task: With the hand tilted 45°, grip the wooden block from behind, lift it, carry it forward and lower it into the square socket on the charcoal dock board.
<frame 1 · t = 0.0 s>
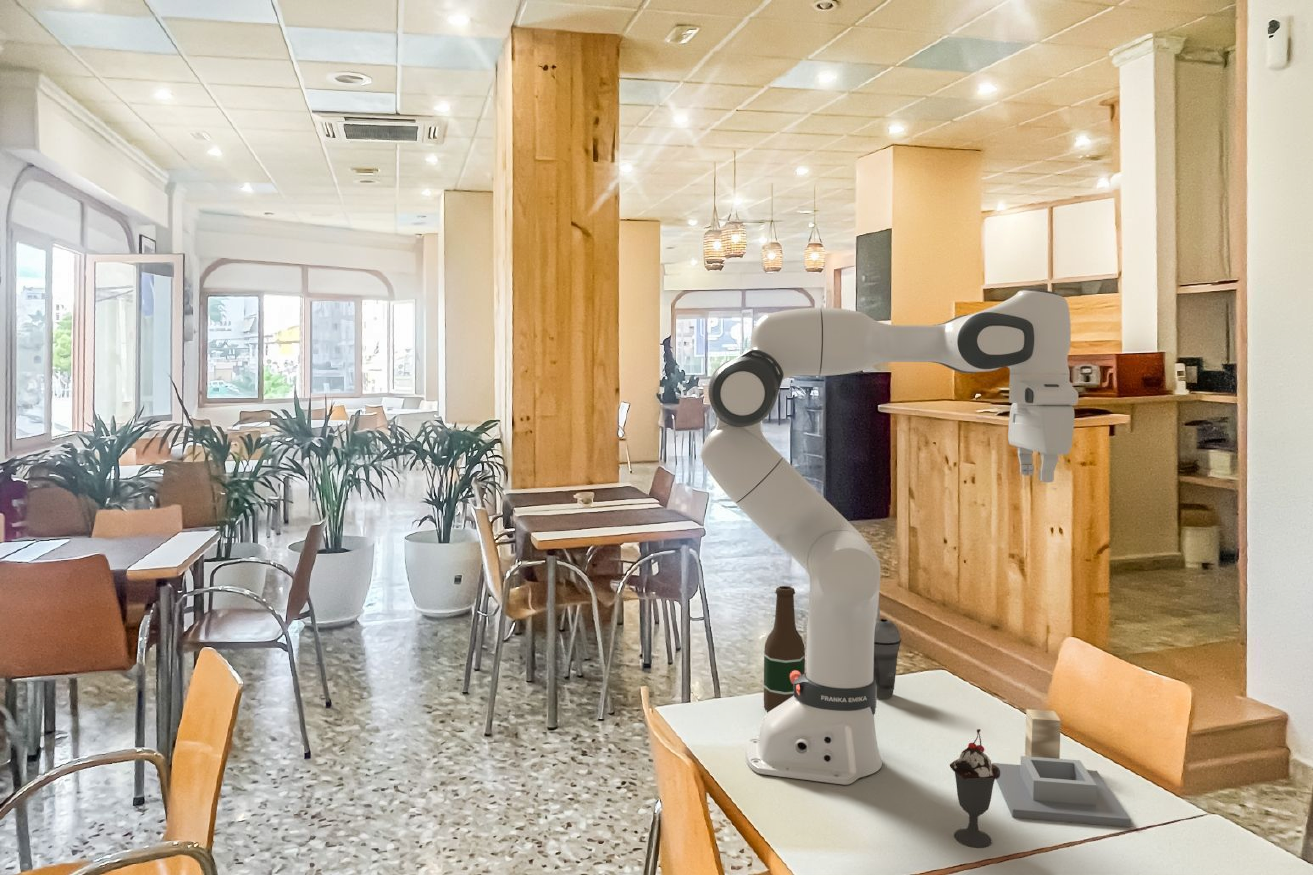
hand: (1036, 478, 144), 48 cm above the table, tool pointing down, fingers open, 8 cm apart
sundae: (972, 839, 125), on the table
wooden block: (1041, 761, 150), on the table
beer bottle: (783, 711, 173), on the table
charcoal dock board: (1056, 796, 138), on the table
beverage cup: (881, 696, 181), on the table
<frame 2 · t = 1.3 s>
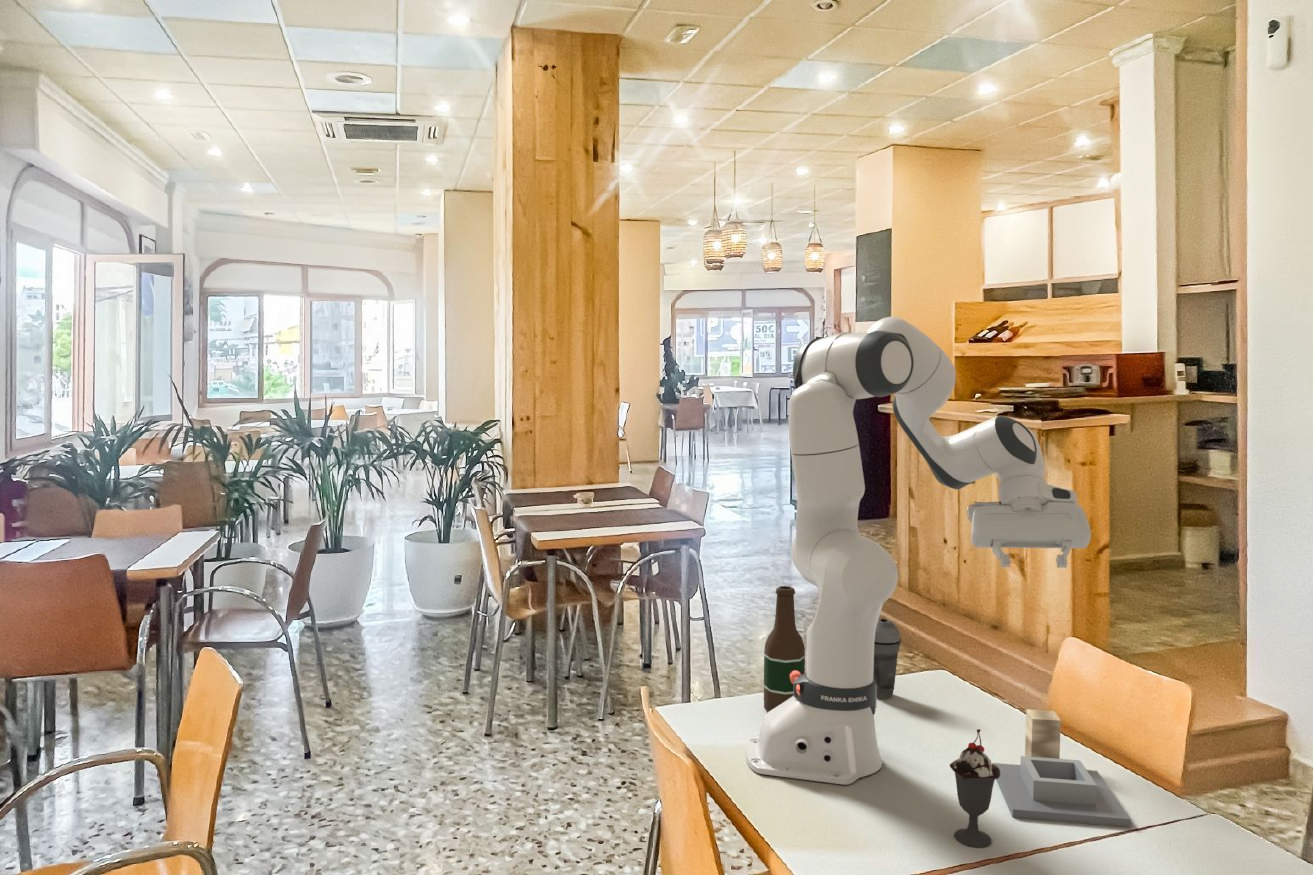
hand: (1033, 565, 159), 31 cm above the table, tool tilted 45°, fingers open, 8 cm apart
nothing on the table moved.
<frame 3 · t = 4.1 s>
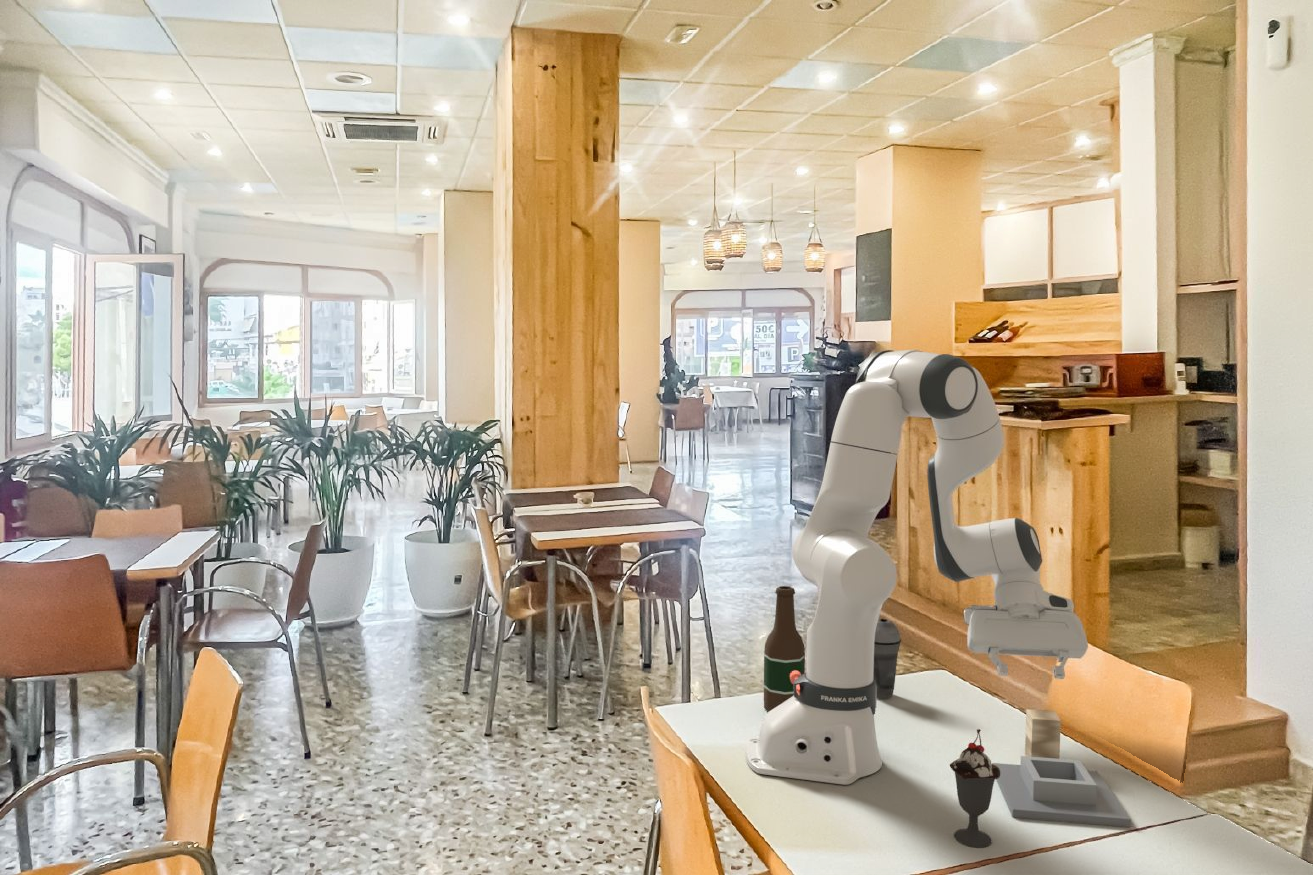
hand: (1031, 675, 158), 12 cm above the table, tool tilted 45°, fingers open, 8 cm apart
nothing on the table moved.
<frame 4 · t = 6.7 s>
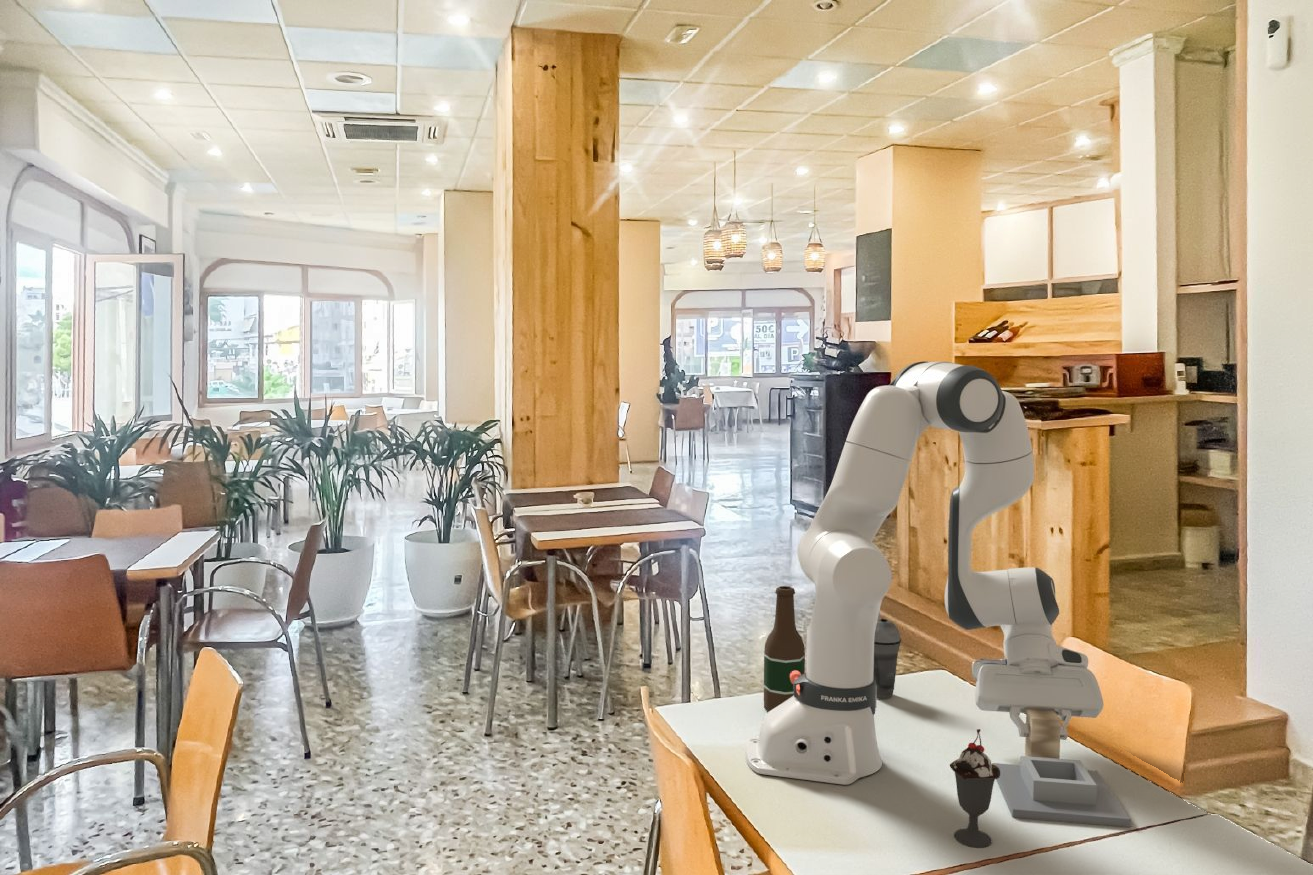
hand: (1043, 737, 149), 4 cm above the table, tool tilted 45°, fingers closed on wooden block, 4 cm apart
wooden block: (1041, 761, 150), on the table, touching gripper
everything else where it was.
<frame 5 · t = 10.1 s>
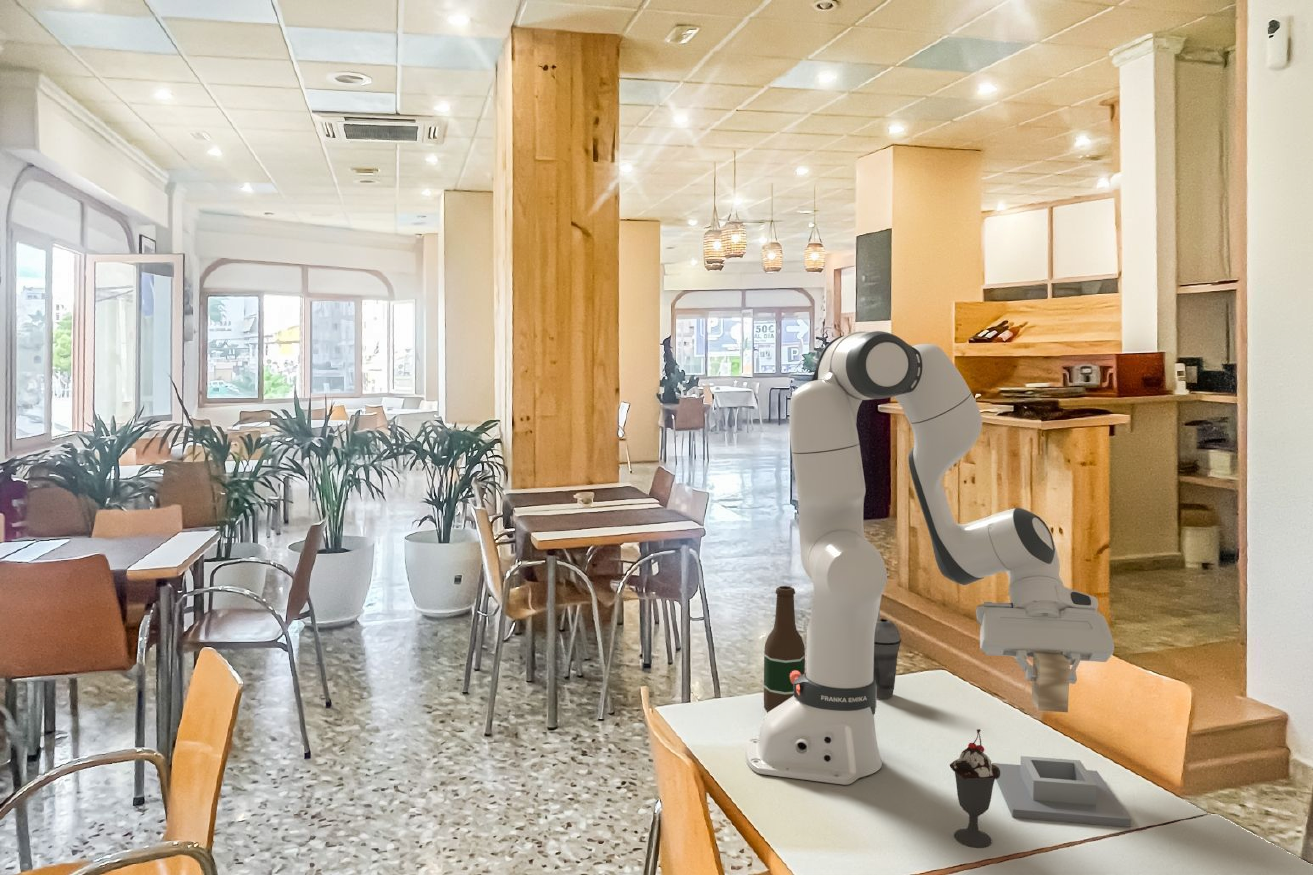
hand: (1051, 680, 143), 16 cm above the table, tool tilted 45°, fingers closed on wooden block, 4 cm apart
wooden block: (1049, 706, 144), point 12 cm above the table, touching gripper
everything else where it was.
when the fingers open (7 cm above the table, at t = 13.8 s): wooden block drops 1 cm, resting on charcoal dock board.
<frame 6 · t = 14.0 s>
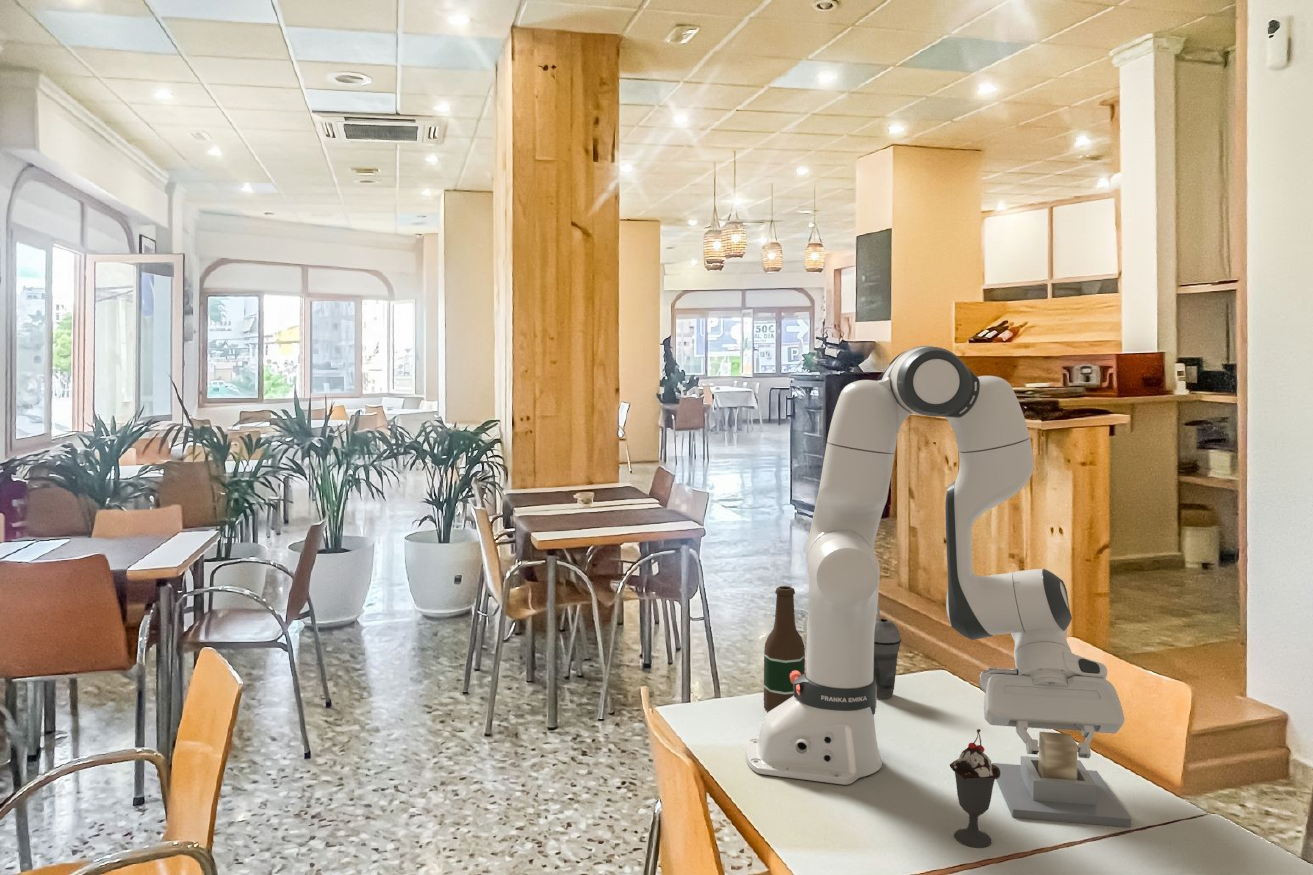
hand: (1058, 754, 137), 7 cm above the table, tool tilted 45°, fingers open, 6 cm apart
wooden block: (1056, 789, 138), point 1 cm above the table, touching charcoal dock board
everything else where it was.
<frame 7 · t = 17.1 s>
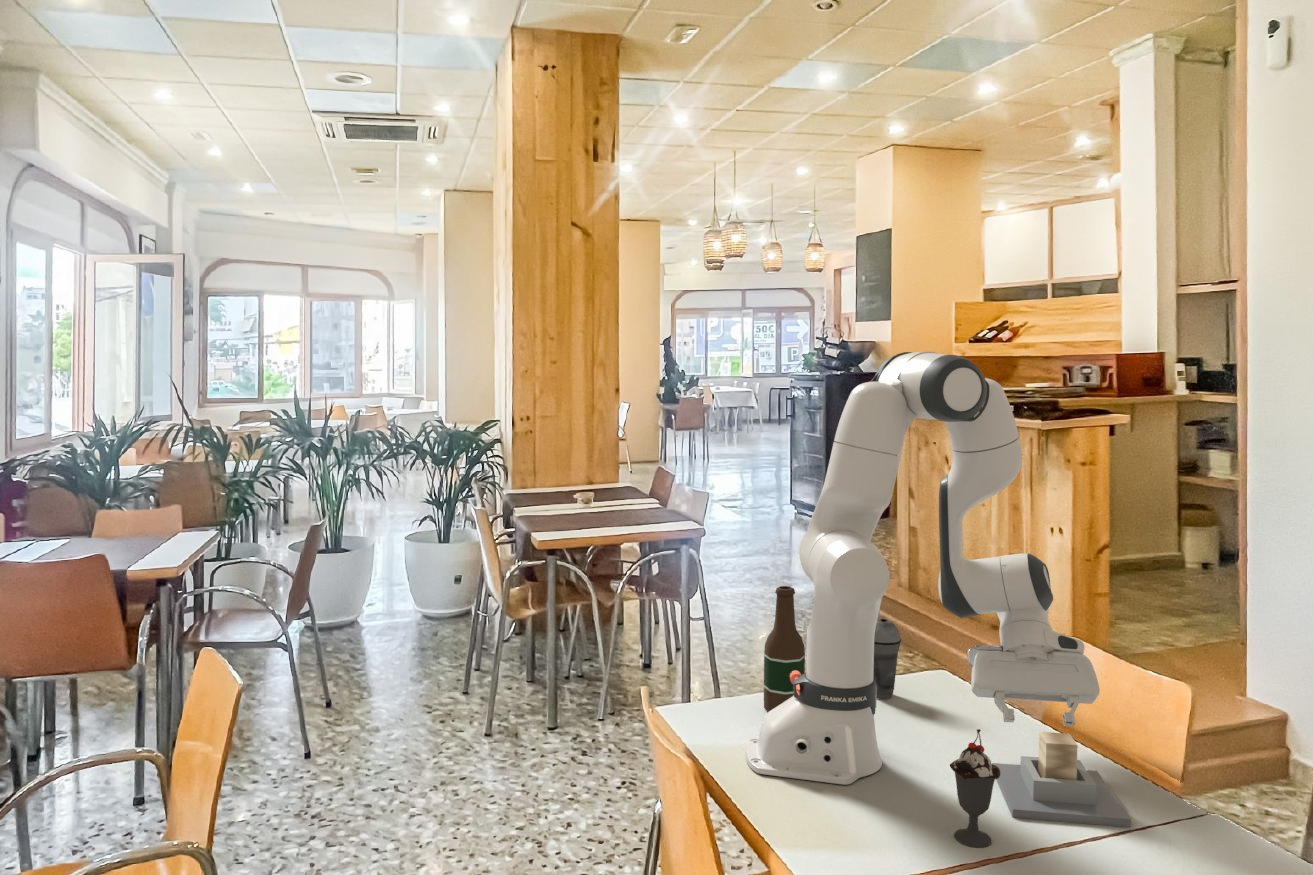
hand: (1039, 722, 149), 7 cm above the table, tool tilted 45°, fingers open, 8 cm apart
nothing on the table moved.
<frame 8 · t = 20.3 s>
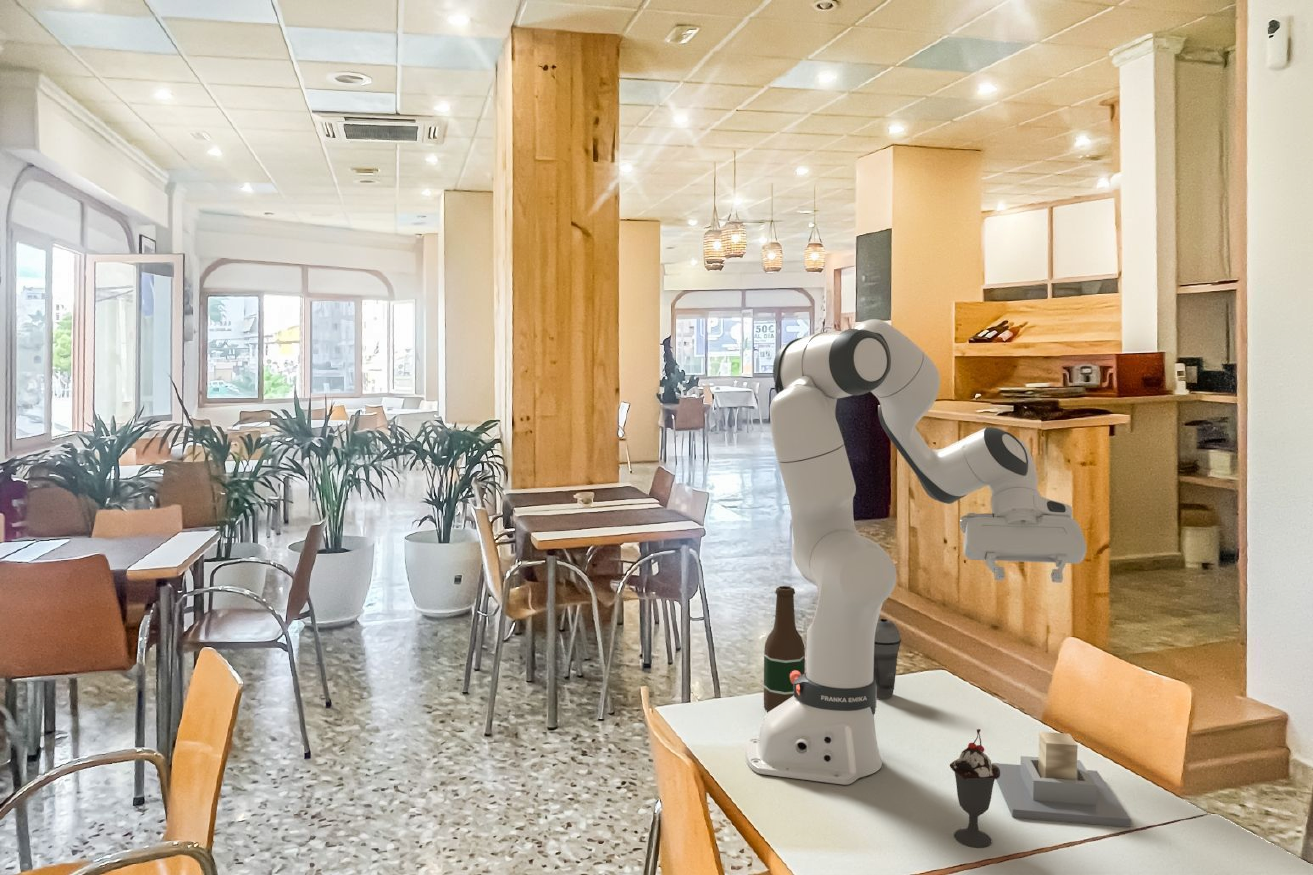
hand: (1028, 579, 155), 29 cm above the table, tool tilted 45°, fingers open, 8 cm apart
nothing on the table moved.
at the end: wooden block 0.0 cm off-centre on the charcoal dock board, point 1.2 cm above the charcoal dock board's base; wooden block tilted 0°; the gripper is holding nothing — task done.
